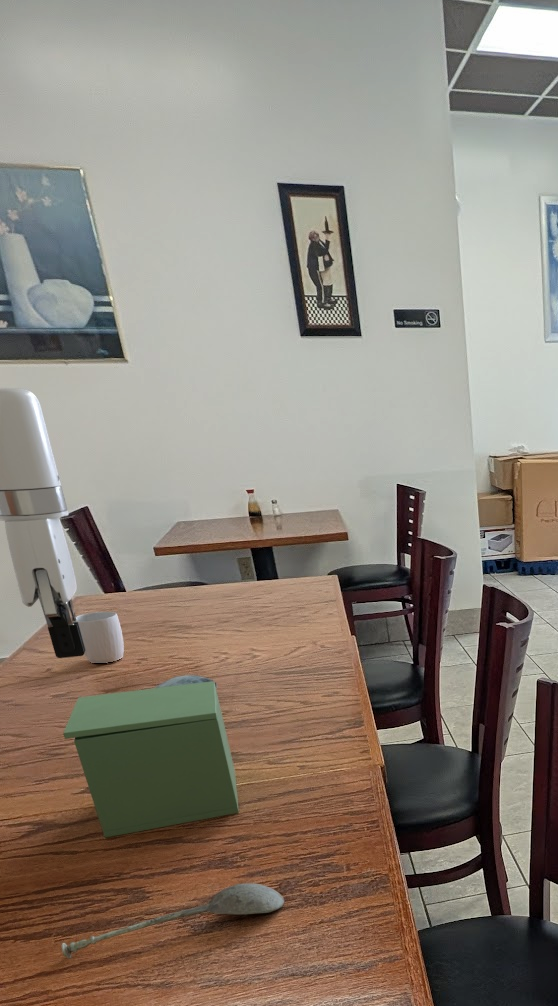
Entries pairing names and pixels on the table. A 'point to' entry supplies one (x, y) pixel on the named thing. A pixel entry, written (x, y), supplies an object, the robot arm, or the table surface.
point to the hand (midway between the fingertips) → (71, 655)
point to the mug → (101, 636)
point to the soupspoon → (205, 910)
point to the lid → (142, 709)
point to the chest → (159, 775)
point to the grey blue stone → (184, 681)
